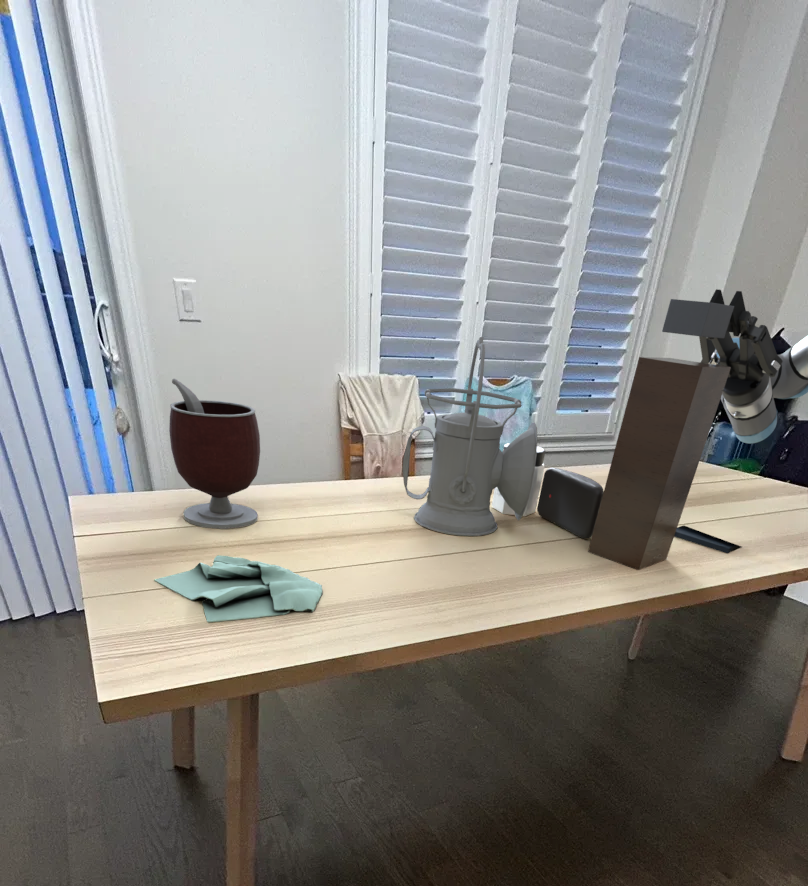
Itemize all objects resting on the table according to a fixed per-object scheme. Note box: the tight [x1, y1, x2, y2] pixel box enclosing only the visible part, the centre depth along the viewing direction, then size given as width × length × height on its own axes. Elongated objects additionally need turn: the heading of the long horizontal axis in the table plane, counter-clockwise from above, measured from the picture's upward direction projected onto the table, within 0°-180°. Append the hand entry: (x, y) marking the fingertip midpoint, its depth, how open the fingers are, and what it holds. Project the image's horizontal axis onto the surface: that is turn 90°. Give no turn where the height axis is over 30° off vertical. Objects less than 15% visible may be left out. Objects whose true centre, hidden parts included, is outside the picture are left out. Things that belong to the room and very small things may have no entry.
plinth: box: [587, 356, 731, 571], centre depth 103 cm, size 10×10×30 cm
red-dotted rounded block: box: [536, 467, 604, 540], centre depth 120 cm, size 16×5×9 cm, turn 26°
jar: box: [491, 442, 546, 518], centre depth 126 cm, size 9×8×12 cm
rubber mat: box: [674, 524, 742, 555], centre depth 126 cm, size 16×12×1 cm
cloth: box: [153, 554, 324, 623], centre depth 85 cm, size 20×22×2 cm
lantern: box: [402, 336, 538, 537], centre depth 110 cm, size 21×22×30 cm
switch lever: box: [661, 298, 734, 338], centre depth 95 cm, size 20×6×4 cm, turn 134°
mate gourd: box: [169, 378, 261, 530], centre depth 103 cm, size 16×14×20 cm
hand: (724, 299), depth 94 cm, fingers closed on switch lever, 2 cm apart
